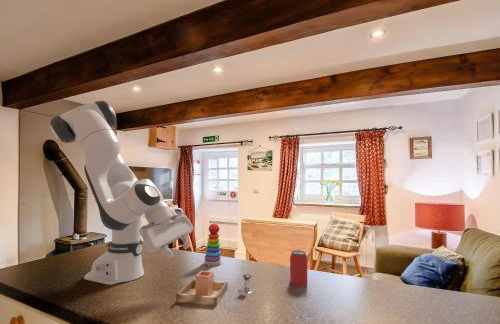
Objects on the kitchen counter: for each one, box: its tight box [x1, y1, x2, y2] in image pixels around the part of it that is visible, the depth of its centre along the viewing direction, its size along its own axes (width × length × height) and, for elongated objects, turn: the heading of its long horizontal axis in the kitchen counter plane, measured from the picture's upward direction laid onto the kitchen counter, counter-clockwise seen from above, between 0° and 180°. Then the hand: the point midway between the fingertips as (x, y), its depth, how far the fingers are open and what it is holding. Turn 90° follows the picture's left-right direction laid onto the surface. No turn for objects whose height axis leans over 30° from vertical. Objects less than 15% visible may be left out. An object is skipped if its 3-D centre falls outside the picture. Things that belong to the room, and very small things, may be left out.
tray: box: [175, 278, 229, 307], centre depth 90 cm, size 14×13×3 cm
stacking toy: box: [203, 222, 222, 267], centre depth 124 cm, size 8×8×19 cm
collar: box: [195, 270, 215, 296], centre depth 90 cm, size 5×5×7 cm
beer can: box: [289, 249, 308, 287], centre depth 101 cm, size 7×7×12 cm
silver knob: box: [237, 273, 257, 297], centre depth 93 cm, size 6×6×6 cm
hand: (180, 252), depth 93 cm, fingers open, 6 cm apart
